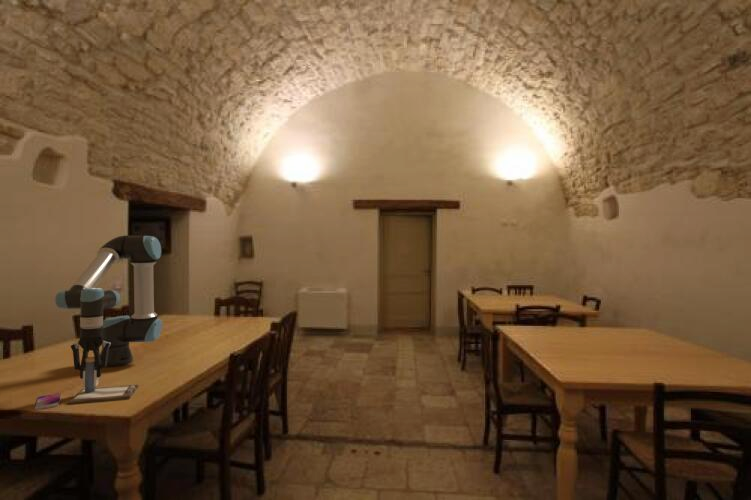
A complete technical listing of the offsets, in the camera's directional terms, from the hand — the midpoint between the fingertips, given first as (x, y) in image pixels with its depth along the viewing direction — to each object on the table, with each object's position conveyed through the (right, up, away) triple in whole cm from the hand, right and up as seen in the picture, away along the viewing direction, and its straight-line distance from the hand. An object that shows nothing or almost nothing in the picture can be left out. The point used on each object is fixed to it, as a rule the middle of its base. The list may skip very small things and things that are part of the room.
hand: (90, 385), depth 160 cm
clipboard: (+6, -3, -1) cm, 7 cm away
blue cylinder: (0, -2, 0) cm, 2 cm away
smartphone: (-10, -4, -8) cm, 14 cm away
